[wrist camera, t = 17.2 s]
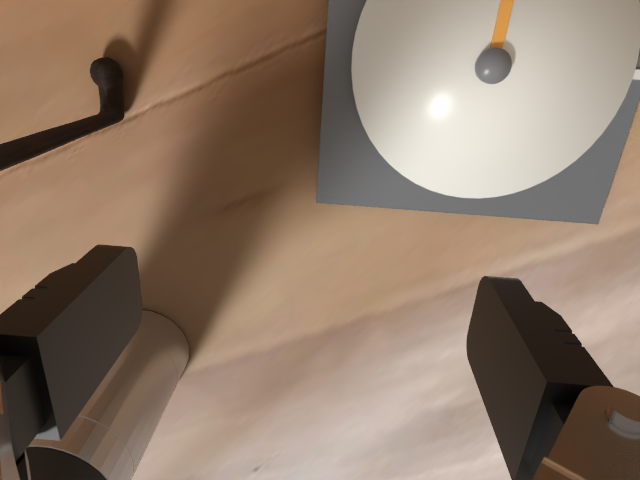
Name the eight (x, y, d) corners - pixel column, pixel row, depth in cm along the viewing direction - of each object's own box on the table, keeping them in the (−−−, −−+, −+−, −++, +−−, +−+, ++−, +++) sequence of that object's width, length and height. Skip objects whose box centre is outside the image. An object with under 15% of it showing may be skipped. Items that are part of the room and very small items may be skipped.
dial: (578, 204, 39) (635, 247, 31) (338, 179, 39) (335, 216, 31) (675, -84, 31) (786, -122, 23) (370, -113, 31) (377, -160, 23)
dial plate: (589, 217, 41) (599, 225, 40) (317, 196, 42) (316, 203, 40) (697, -117, 31) (715, -125, 30) (337, -138, 32) (337, -147, 30)
